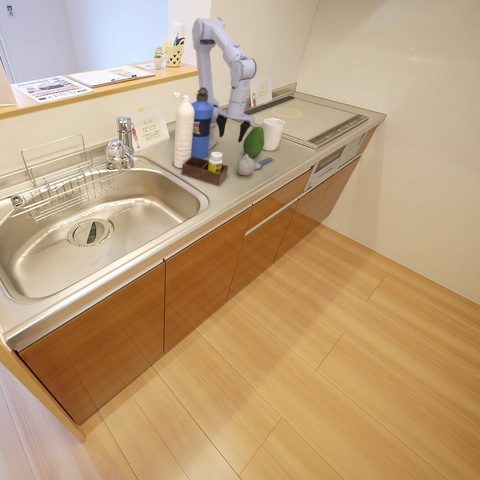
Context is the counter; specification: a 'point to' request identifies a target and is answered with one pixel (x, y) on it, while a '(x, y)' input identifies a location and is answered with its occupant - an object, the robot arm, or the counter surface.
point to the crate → (203, 170)
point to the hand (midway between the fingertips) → (230, 139)
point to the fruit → (254, 142)
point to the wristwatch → (261, 163)
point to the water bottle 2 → (201, 124)
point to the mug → (272, 133)
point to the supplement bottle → (215, 162)
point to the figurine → (245, 165)
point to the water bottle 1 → (183, 131)
